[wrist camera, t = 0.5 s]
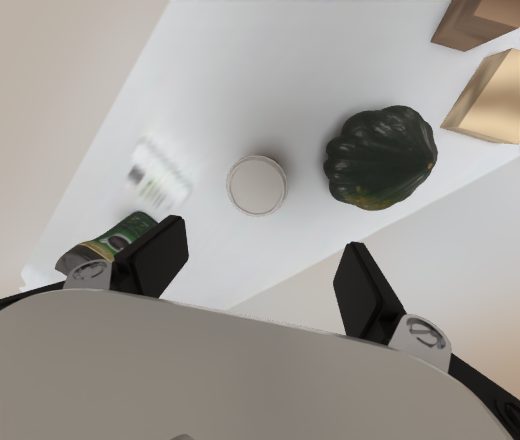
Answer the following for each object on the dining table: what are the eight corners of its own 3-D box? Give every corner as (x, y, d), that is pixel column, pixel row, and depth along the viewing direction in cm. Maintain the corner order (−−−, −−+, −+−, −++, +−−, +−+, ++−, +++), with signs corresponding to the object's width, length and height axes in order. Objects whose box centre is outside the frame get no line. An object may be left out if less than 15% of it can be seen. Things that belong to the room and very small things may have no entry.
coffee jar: (125, 223, 49) (43, 272, 33) (139, 206, 46) (54, 249, 30) (155, 247, 51) (91, 303, 35) (170, 232, 48) (107, 286, 32)
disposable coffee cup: (247, 142, 36) (228, 148, 25) (295, 155, 35) (296, 166, 25) (238, 188, 40) (219, 210, 29) (281, 200, 40) (277, 226, 29)
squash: (294, 184, 32) (375, 232, 22) (334, 84, 26) (474, 90, 16) (338, 190, 41) (410, 227, 31) (376, 116, 35) (484, 133, 24)
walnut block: (456, -9, 24) (514, -57, 18) (494, 2, 24) (566, -43, 18) (430, 41, 26) (473, 15, 20) (464, 51, 26) (518, 28, 20)
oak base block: (482, 58, 26) (512, 48, 23) (544, 76, 26) (583, 68, 23) (438, 127, 30) (457, 127, 27) (491, 142, 30) (518, 144, 27)
